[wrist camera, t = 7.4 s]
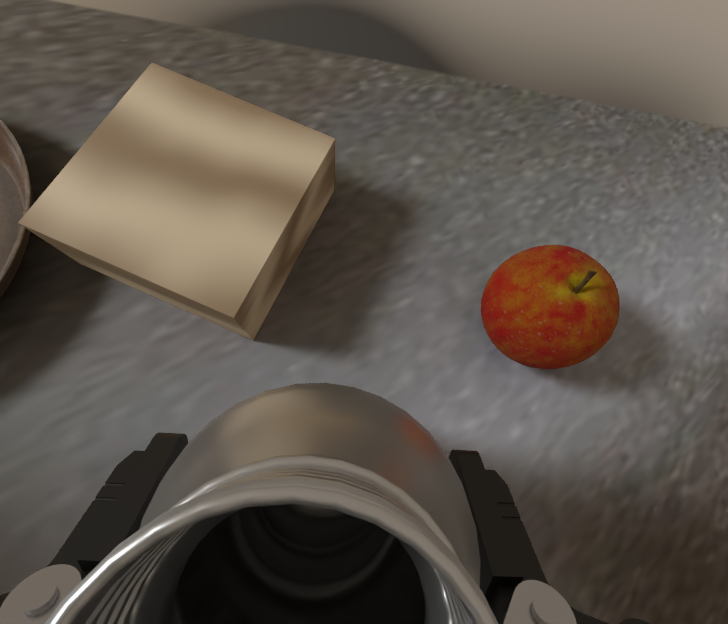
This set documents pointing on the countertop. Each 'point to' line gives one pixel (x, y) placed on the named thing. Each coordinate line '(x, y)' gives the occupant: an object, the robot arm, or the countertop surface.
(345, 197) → the countertop surface
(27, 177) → the plant saucer
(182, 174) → the block
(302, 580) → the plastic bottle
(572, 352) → the fruit
